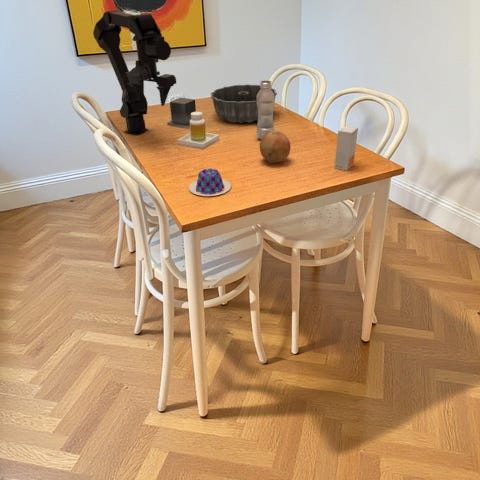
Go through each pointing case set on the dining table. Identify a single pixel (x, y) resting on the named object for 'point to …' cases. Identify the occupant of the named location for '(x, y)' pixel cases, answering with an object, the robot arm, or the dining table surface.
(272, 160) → the onion
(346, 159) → the skincare box
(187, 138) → the white tray
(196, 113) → the supplement bottle
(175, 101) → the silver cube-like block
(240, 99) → the bundt pan
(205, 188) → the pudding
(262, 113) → the plastic bottle
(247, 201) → the dining table surface
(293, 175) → the dining table surface
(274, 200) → the dining table surface
